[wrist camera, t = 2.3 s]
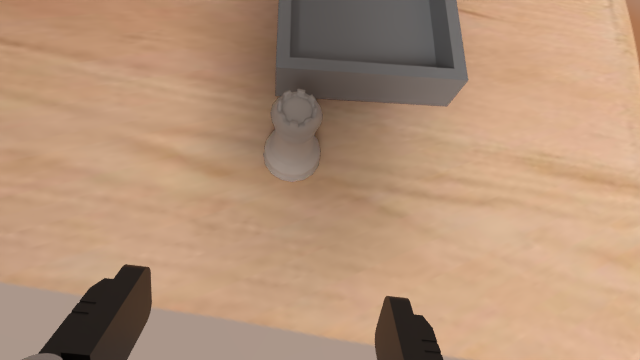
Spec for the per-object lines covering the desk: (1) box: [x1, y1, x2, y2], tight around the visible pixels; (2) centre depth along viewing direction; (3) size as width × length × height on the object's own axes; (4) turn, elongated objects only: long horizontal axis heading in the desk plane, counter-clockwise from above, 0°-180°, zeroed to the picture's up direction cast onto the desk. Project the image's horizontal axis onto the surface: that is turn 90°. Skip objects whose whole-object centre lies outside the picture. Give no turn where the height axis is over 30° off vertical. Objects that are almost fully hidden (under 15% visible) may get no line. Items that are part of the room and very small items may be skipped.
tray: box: [275, 0, 468, 106], centre depth 34 cm, size 15×15×4 cm
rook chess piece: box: [263, 89, 323, 182], centre depth 28 cm, size 4×4×8 cm
